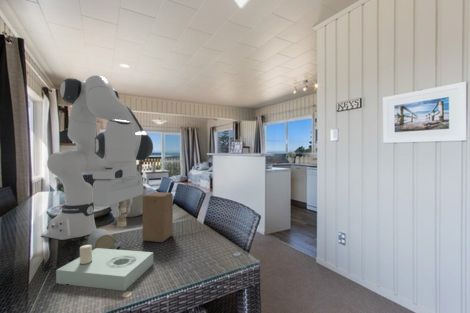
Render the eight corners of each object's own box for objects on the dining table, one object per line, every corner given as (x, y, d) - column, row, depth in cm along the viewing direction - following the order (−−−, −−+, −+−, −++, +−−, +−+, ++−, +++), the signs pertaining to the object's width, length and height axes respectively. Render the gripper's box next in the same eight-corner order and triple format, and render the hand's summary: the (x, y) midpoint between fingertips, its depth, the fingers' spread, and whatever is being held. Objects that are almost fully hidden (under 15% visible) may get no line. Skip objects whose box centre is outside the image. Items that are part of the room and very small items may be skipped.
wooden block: (162, 243, 100) (162, 196, 100) (141, 241, 102) (141, 195, 102) (173, 235, 110) (173, 192, 109) (153, 233, 112) (153, 191, 111)
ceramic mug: (95, 256, 87) (95, 235, 87) (87, 250, 93) (88, 230, 92) (124, 248, 95) (124, 229, 95) (115, 243, 100) (116, 225, 100)
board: (56, 283, 69) (56, 253, 69) (96, 259, 85) (96, 234, 85) (124, 290, 66) (124, 258, 66) (153, 263, 82) (153, 238, 81)
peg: (113, 227, 73) (112, 198, 73) (120, 224, 76) (118, 196, 76) (123, 227, 73) (121, 198, 72) (129, 224, 76) (128, 196, 76)
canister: (121, 211, 152) (121, 179, 151) (150, 211, 154) (150, 178, 153) (110, 219, 134) (109, 182, 133) (143, 219, 136) (142, 182, 135)
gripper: (131, 168, 85) (131, 206, 85) (87, 173, 65) (88, 223, 65) (147, 168, 84) (148, 207, 84) (108, 173, 64) (109, 224, 64)
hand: (121, 214), depth 74 cm, fingers closed on peg, 3 cm apart
